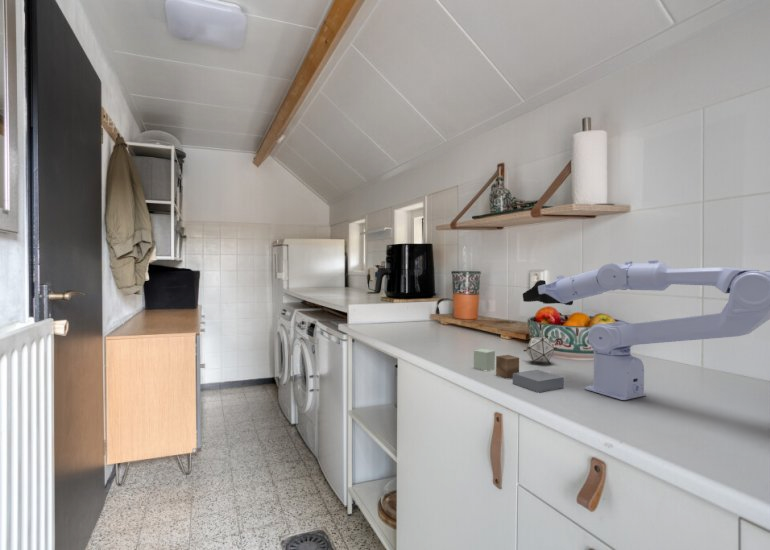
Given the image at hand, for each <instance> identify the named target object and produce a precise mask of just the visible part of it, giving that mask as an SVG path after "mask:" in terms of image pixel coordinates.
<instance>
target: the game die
mask: <svg viewBox="0 0 770 550" xmlns="http://www.w3.org/2000/svg"><path fill="white" fill-rule="evenodd" d="M529 338H530V339H529V341H528V345H527V346H526V349H523V352H526V353H527V355H528V356H529V358H530V359H531V365H533V364H534V363H539V362H540V363H548V364H549V365H551V363H552V362H551V358H552V357H553V354H554V351H555V350H558V347H555V346H554V345H553V344H552V343H551V341H550V340H549V339H548V338H549V335H546V336H544V337H541V336H539V337H538V336H536V337H535V336H534V337H533V336H532V335H531V334H529Z"/></svg>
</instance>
